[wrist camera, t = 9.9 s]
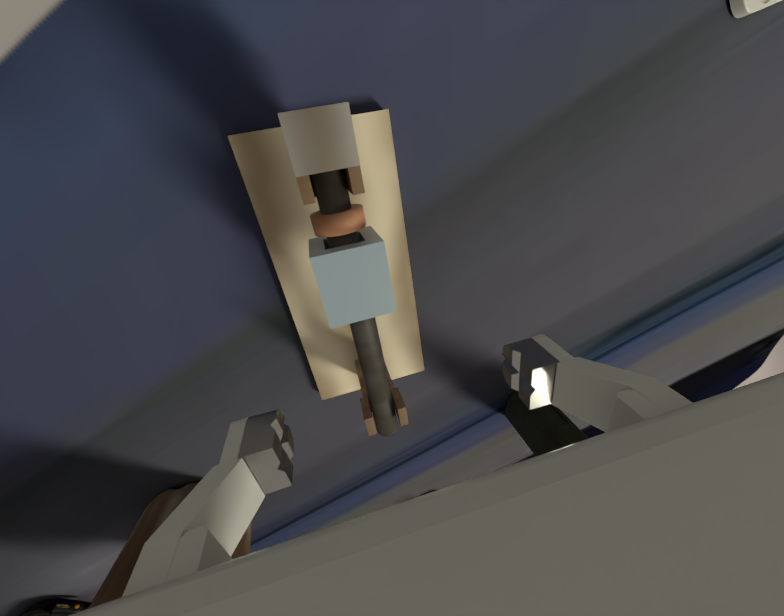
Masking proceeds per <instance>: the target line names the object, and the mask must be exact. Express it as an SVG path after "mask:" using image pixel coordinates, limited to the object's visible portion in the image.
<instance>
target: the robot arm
mask: <svg viewBox="0 0 784 616" xmlns="http://www.w3.org/2000/svg"><path fill="white" fill-rule="evenodd" d="M729 1H730V7H731V11H732V14H733V16H734V17H735V18H742V17H744V16H747V15H749V14H752V13H754V12H756V11H759V10H761V9H763V8H766V7H768V6H770V5H773V4H775V3H777V2H780V1H782V0H729ZM502 355H503V356H504V357H505V358H506V359H505V360H504V362H503V363H502V372H503V375H504V378H505V380H506V382H507V384H508V385H509V386H510V387H511V388H512V389H514V390H517V391H519V394H518V397H519V398H520V399H521V400H522V401H523V403H524V404H525V405H526V406H527V407H528V408H529V410H531V409H534V408H538V407H541V406H545V405H548V404H552V405H553V406H555V407H557V408H559V409H561V410H563V411H565V412H567V413H569V414H571V415H573V416H575V417H577V418H579V419H581V420H583V421H585V422H587V423H589V424H591V425H593V426H595V427H597V428H599V429H601V430H602V431H604V432H606V433H604V434H601V435H598V436H595V437H592V438H589V439H586V440H583V441H580V442H577V443H574V444H571V445H569V446H566V447H563V448H560V449H557V450H554V451H551V452H548V453H545V454H542V455H539V456H536V457H533V458H530V459H527V460H524V461H521V462H519V463H516V464H513V465H510V466H507V467H504V468H501V469H498V470H495V471H492V472H489V473H486V474H483V475H480V476H477V477H475V478H472V479H469V480H466V481H463V482H460V483H457V484H454V485H451V486H448V487H445V488H442V489H439V490H436V491H433V492H430V493H427V494H424V495H421V496H418V497H416V498H413V499H410V500H407V501H404V502H401V503H398V504H395V505H392V506H389V507H386V508H383V509H380V510H377V511H374V512H371V513H368V514H365V515H362V516H360V517H357V518H354V519H351V520H348V521H345V522H342V523H339V524H336V525H333V526H330V527H327V528H324V529H321V530H318V531H315V532H312V533H309V534H307V535H304V536H301V537H298V538H295V539H292V540H289V541H286V542H283V543H280V544H277V545H274V546H271V547H268V548H265V549H262V550H259V551H256V552H254V553H251V554H248V555H245V556H242V557H239V558H236V559H232V558H231V556H232V554H233V552H234V550H235V548H236V547H237V545H238V543H239V541H240V540H241V538H242V536H243V534H244V533H245V531H246V529H247V527H248V526H249V524H250V522H251V520H252V519H253V517H254V515H255V513H256V512H257V510H258V508H259V506H260V505H261V503H262V501H263V499H264V497H265V494H268V493H271V492H274V491H277V490H280V489H282V488H285V487H288V486H291V485H292V476H293V465H292V463H291V461H290V459H291V458H292V456H293V455H294V444H293V437H292V433H291V431H290V428H289V426H287V425H285V424H284V415H283V413H282V411H281V410H279V409H278V410H274V411H271V412H267V413H263V414H259V415H255V416H251V417H249V418H245V419H241V420H237V421H233V422H232V424H231V425H230V427H229V431H228V434H227V438H226V441H225V445H224V448H223V451H222V455H221V458H220V462H219V465H216V466H214V467H213V468H212V469H211V470H210V471H209V472H208V473H207V474H206V475H205V477H204V478H203V479H202V480H201V481H200V482H199V483H198V484H197V485H196V487H195V488H194V489H193V490H192V491H191V492H190V493H189V494H188V495H187V497H186V498H185V499H184V500H183V501H182V502H181V503H180V504H179V506H178V507H177V508H176V509H175V510H174V511H173V512H172V513H171V514H170V516H169V517H168V518H167V519H166V520H165V521H164V522H163V523H162V524H161V526H160V527H159V528H158V529H157V530H156V531H155V532H154V533H153V534H152V536H151V537H150V538H149V539H148V540H147V541H146V542H145V544H144V546H143V548H142V551H141V553H140V555H139V558H138V560H137V562H136V565H135V567H134V570H133V572H132V574H131V577H130V579H129V581H128V584H127V586H126V589H125V591H124V593H123V596H122V597H121V598H118V599H115V600H112V601H109V602H106V603H103V604H101V605H98V606H95V607H92V608H89V609H86V610H83V611H80V612H77V613H74V614H71V615H68V616H784V372H783V373H780V374H777V375H774V376H771V377H769V378H766V379H763V380H760V381H757V382H754V383H751V384H748V385H745V386H742V387H739V388H736V389H734V390H731V391H728V392H725V393H722V394H719V395H716V396H713V397H710V398H707V399H704V400H701V401H698V402H695V403H692V402H690V401H689V400H687V399H686V398H684V397H683V396H681V395H680V394H678V393H677V392H675V391H674V390H672V389H671V388H669V387H668V386H666V385H665V384H663V383H662V382H660V381H659V380H657V379H655V378H651V377H648V376H644V375H640V374H637V373H633V372H630V371H626V370H623V369H619V368H616V367H612V366H608V365H605V364H601V363H598V362H594V361H591V360H587V359H583V358H580V357H577V358H574V357H572V356H571V355H570V354H568V353H567V352H566V351H565V350H563V349H562V348H561V347H559V346H558V345H557V344H556V343H554V342H553V341H552V340H551V339H549V338H548V337H547V336H545V335H543V334H540V335H537V336H533V337H530V338H528V339H524V340H521V341H517V342H514V343H510V344H507V345H504V346H503V349H502Z"/></svg>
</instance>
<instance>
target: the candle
mask: <svg viewBox="0 0 784 616" xmlns="http://www.w3.org/2000/svg"><path fill="white" fill-rule="evenodd" d="M518 394H519V391H517V390H515V391H514V392H513V393H512V394H511V395H510V397H509V400H508V403H507V406H506V409H505V412H504V414H505V416H506V417H507V419H508V420H509V421H510V423H511V424H512V425H513V427H514V428H515V429H516V431H517V432H518V433H519V435H520V436H521V437H522V438H523V440H524V441H525V442H526V444H527V445H528V446H529V448H530V449H531V450H532V452H533V453H534V454H535V456H539V455H542V454H545V453H548V452H551V451H554V450H557V449H560V448H563V447H566V446H569V445H571V444H574V443H577V442H580V441H583V440H586V439H589V438H588V437H587V436H586V435H585V434H584V433H583V432H582V431H581V430H580V429H579V428H578V427H577V426H576V425H575V424H574V423H573V422H572V421H571V420H570V419H569V418H568V417H567V416H566V415H565V414H564V413H563V412H562V411H561V410H560V409H559V408H557V407H555V406H553V405H552V404H548V405H545V406H541V407H538V408H534V409H531V410H529V408H528V407H527V406H526V405H525V404H524V403H523V401H522V400H521V399H520V398H519V397H518Z"/></svg>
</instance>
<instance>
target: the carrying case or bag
mask: <svg viewBox="0 0 784 616" xmlns="http://www.w3.org/2000/svg"><path fill="white" fill-rule="evenodd" d="M89 606H90V605H89V604H83V603H82V602H68V601H61V600H46V601H43V602H40V603H39V604H37V605H36V606H34V607H32V608H31V609H29V610H28V611H26V612H25V613H24V614H23V615H22V616H68V615H71V614H74V613H77V612H80V611H83V610H86V609H88V608H89Z"/></svg>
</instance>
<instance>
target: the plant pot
mask: <svg viewBox="0 0 784 616" xmlns="http://www.w3.org/2000/svg"><path fill="white" fill-rule="evenodd" d="M198 483H199V482H195V483H189V484H187V485H185V486H184V487H182V488H180V489H176V490H173V489H168V490H166V491H164V492H163V493H161V494H159V495H158V496H156V497H155V498H154V499H153V500H152V501H151V502H150V503H149V504H148V506H147V507H146V509H145V510H144V512H143V514H142V516H141V517H140V519H139V521H138V523H137V525H136V526H135V528H134V530H133V532H132V533H131V535H130V537H129V539H128V540H127V542H126V544H125V546H124V547H123V549H122V551H121V553H120V554H119V556H118V558H117V560H116V561H115V563H114V565H113V567H112V568H111V570H110V572H109V574H108V575H107V577H106V579H105V580H104V582H103V584H102V586H101V587H100V589H99V591H98V593H97V594H96V596H95V598H94V599H93V601H92V603H91V604H90V606H89V608H92V607H95V606H98V605H101V604H103V603H106V602H109V601H112V600H115V599H118V598H121V597H122V596H123V593H124V591H125V589H126V586H127V584H128V581H129V579H130V577H131V574H132V572H133V570H134V567H135V565H136V562H137V560H138V558H139V555H140V553H141V551H142V548H143V546H144V544H145V542H146V541H147V540H148V539H149V538H150V537H151V536H152V534H153V533H154V532H155V531H156V530H157V529H158V528H159V527H160V526H161V524H162V523H163V522H164V521H165V520H166V519H167V518H168V517H169V516H170V514H171V513H172V512H173V511H174V510H175V509H176V508H177V507H178V506H179V504H180V503H181V502H182V501H183V500H184V499H185V498H186V497H187V495H188V494H189V493H190V492H191V491H192V490H193V489H194V488H195V487H196V485H197V484H198ZM251 530H252V520H251V522H250V524H249V526H248V527H247V529H246V531H245V533H244V534H243V536H242V538H241V540H240V541H239V543H238V545H237V547H236V548H235V550H234V552H233V554H232V556H231V558H232V559H236V558H239V557H242V556H245V555H248V554H250V544H251ZM89 608H88V609H89Z"/></svg>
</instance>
